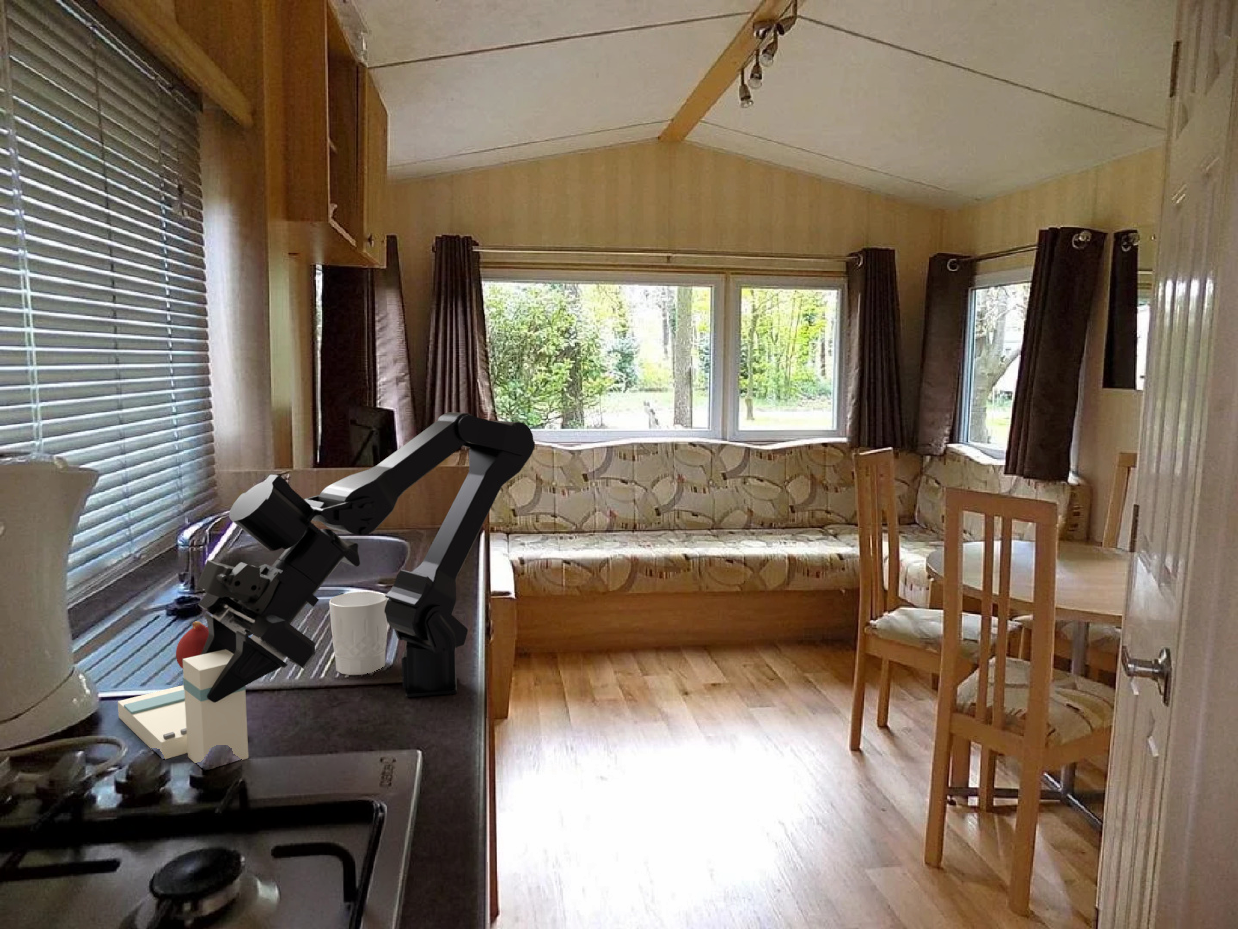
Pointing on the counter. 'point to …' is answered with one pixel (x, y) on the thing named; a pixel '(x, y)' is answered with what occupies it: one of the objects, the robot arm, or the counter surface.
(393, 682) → the counter surface
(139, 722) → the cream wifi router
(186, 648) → the onion
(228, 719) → the cream box
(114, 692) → the counter surface
